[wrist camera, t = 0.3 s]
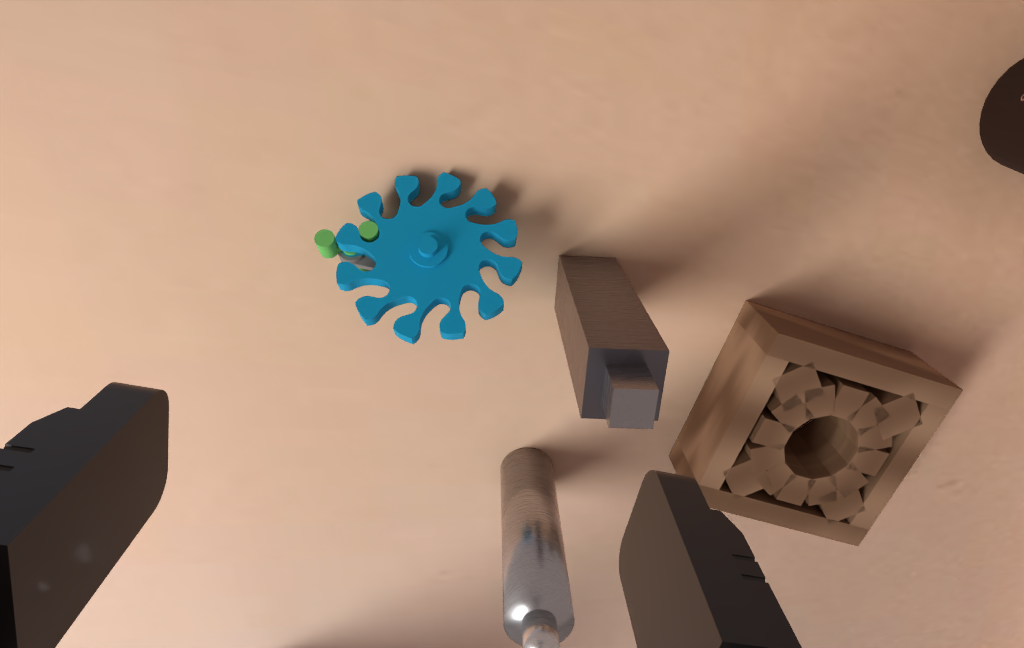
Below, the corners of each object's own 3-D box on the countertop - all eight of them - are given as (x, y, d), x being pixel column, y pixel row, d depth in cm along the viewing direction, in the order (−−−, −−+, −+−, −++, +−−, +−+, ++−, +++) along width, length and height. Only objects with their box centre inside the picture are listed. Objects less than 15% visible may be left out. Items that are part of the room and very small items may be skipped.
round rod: (542, 496, 46) (564, 688, 32) (493, 483, 46) (494, 674, 32) (560, 455, 45) (589, 637, 31) (509, 442, 44) (518, 621, 31)
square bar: (608, 310, 41) (669, 446, 27) (554, 308, 41) (587, 443, 27) (615, 258, 39) (682, 372, 26) (559, 255, 39) (595, 369, 25)
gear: (539, 185, 36) (501, 353, 32) (531, 239, 41) (497, 387, 38) (344, 145, 36) (283, 306, 32) (361, 204, 42) (311, 347, 38)
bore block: (822, 496, 47) (858, 546, 42) (668, 455, 45) (689, 502, 40) (911, 352, 42) (962, 390, 38) (746, 300, 41) (778, 333, 36)
